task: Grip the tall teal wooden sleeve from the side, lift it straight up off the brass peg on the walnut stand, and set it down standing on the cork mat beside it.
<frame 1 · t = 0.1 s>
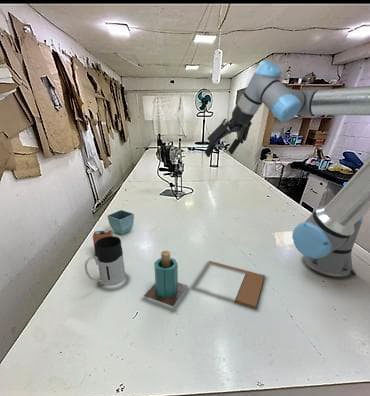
hand: (218, 153, 102), 36 cm above the table, tool tilted 35°, fingers open, 13 cm apart
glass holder: (108, 286, 76), on the table
flower pot: (122, 232, 112), on the table
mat: (229, 282, 78), on the table
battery: (105, 253, 95), on the table
peg stand: (166, 294, 73), on the table
sleeve: (166, 290, 73), point 1 cm above the table, touching peg stand
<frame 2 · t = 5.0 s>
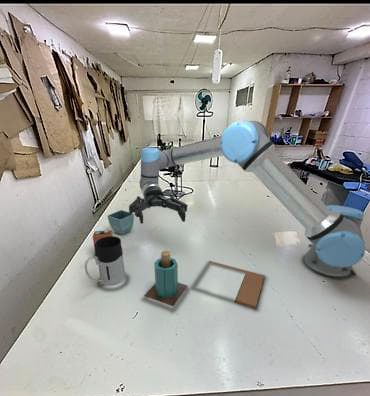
hand: (163, 218, 74), 21 cm above the table, tool horizontal, fingers open, 13 cm apart
nothing on the table moved.
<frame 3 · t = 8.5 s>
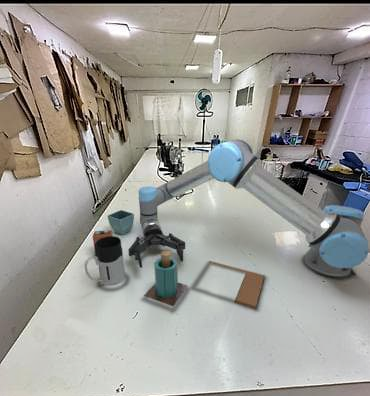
hand: (161, 261, 76), 8 cm above the table, tool horizontal, fingers open, 13 cm apart
nothing on the table moved.
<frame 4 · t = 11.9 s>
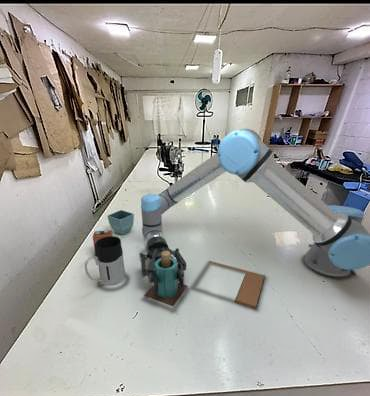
hand: (169, 285, 66), 7 cm above the table, tool horizontal, fingers closed on sleeve, 6 cm apart
sleeve: (166, 290, 73), point 2 cm above the table, touching gripper, peg stand
everything else where it was.
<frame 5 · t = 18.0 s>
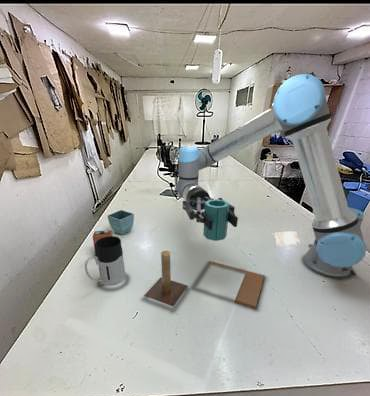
hand: (223, 223, 62), 25 cm above the table, tool horizontal, fingers closed on sleeve, 6 cm apart
sleeve: (214, 235, 69), point 19 cm above the table, touching gripper
everything else where it was.
when the fingers open (7 cm above the table, at t = 24.0 s): sleeve stays where it is, resting on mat.
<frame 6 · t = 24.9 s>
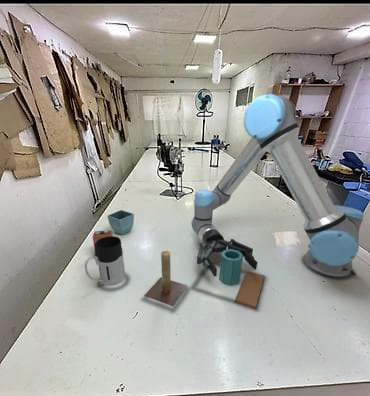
hand: (236, 269, 72), 8 cm above the table, tool horizontal, fingers open, 13 cm apart
sleeve: (229, 280, 78), point 1 cm above the table, touching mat
everything else where it was.
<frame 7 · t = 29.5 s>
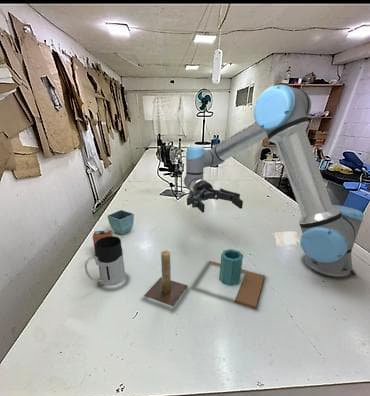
hand: (222, 206, 77), 24 cm above the table, tool horizontal, fingers open, 13 cm apart
nothing on the table moved.
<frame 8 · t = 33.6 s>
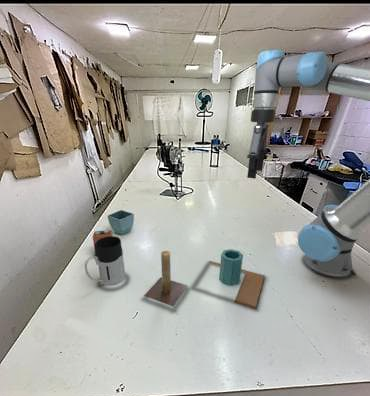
hand: (255, 174, 85), 32 cm above the table, tool pointing down, fingers open, 13 cm apart
nothing on the table moved.
at the end: sleeve inside the target area on the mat (0.1 cm from its centre), point 1.0 cm above the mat's base; sleeve tilted 0°; the gripper is holding nothing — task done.
